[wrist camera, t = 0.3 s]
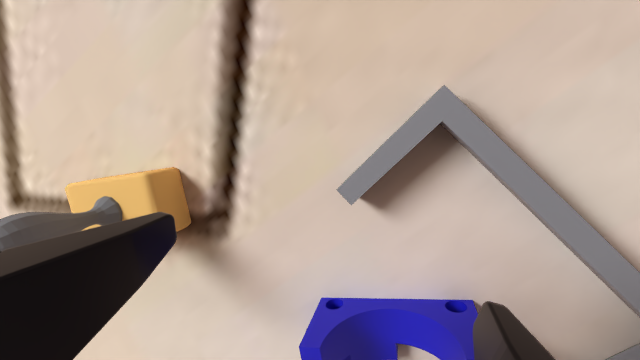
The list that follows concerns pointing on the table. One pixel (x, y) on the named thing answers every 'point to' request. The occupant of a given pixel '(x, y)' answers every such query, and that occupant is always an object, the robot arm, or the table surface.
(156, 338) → the table surface
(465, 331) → the blue notched cradle
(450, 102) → the long grey end-walled tray
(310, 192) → the table surface
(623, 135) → the table surface
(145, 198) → the rubber stamp
